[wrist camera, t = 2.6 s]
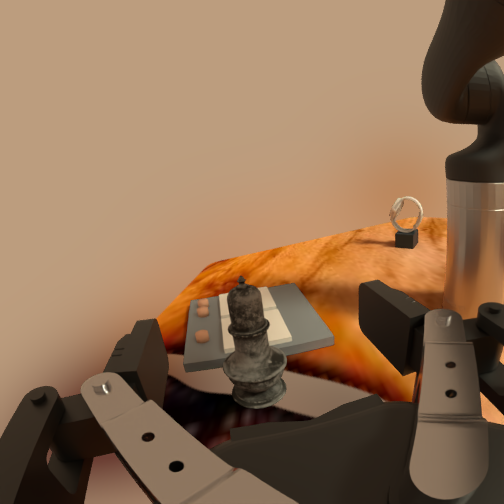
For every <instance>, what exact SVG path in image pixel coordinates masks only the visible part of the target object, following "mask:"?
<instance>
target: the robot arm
mask: <svg viewBox="0 0 504 504" xmlns="http://www.w3.org/2000/svg"><path fill="white" fill-rule="evenodd" d="M502 56H504V0H446V2H445V6H444V10H443V13H442V17H441V20H440V22H439V25H438V28H437V30H436V33H435V35H434V37H433V40H432V42H431V44H430V47H429V49H428V52H427V55H426V57H425V61H424V65H423V70H422V94H423V99H424V101H425V104H426V106H427V108H428V110H429V111H430V113H431V114H432V115H433V116H434V117H435V118H437V119H439V120H441V121H444V122H448V123H453V124H476V125H478V136H477V139H476V140H475V141H474V142H473V143H472V144H471V145H470V146H468V147H467V148H465V149H463V150H461V151H459V152H456V153H453V154H451V155H449V156H448V157H447V158H446V162H445V170H446V178H447V179H446V185H447V255H446V272H445V284H444V295H443V305H442V308H443V309H435V310H429V309H428V308H426V307H425V306H423V305H422V304H420V303H419V302H417V301H415V300H414V299H412V298H411V297H409V296H408V295H406V294H405V293H403V292H402V291H399V290H395V289H392V288H390V287H389V286H387V285H386V284H384V283H383V282H381V281H380V280H374V281H369V282H365V283H361V284H360V286H359V325H360V328H361V331H362V332H363V334H364V335H365V336H366V337H367V338H368V339H369V340H370V341H371V342H372V343H373V344H374V345H375V346H376V348H377V349H378V350H379V351H380V352H381V353H382V354H383V355H384V356H385V357H386V358H387V359H388V360H389V362H390V363H391V364H392V365H393V366H394V367H395V368H396V369H397V370H398V371H399V372H400V373H401V375H402V376H405V375H408V374H410V373H413V372H416V378H415V385H414V392H413V398H412V402H403V401H392V402H383V401H382V400H381V399H380V397H379V396H378V395H377V394H374V395H371V396H368V397H366V398H362V399H359V400H356V401H353V402H349V403H346V404H343V405H341V406H339V407H338V408H335V409H333V410H331V411H329V412H327V413H325V414H323V415H321V416H319V417H317V418H315V419H312V420H309V421H297V422H268V423H262V424H257V425H251V426H245V427H239V428H232V429H230V434H231V440H228V441H225V442H223V443H221V444H219V445H216V446H215V447H213V448H211V449H207V448H206V447H205V446H204V445H202V444H201V443H200V442H199V441H198V440H196V439H195V438H194V437H193V436H192V435H190V434H189V433H188V432H187V431H186V430H185V429H183V428H182V427H181V426H180V425H179V424H178V423H177V422H175V421H174V420H173V419H172V418H171V417H170V416H169V415H168V414H167V413H166V412H164V411H163V410H162V406H163V400H164V393H165V387H166V381H167V375H168V369H169V363H168V357H167V352H166V349H165V346H164V342H163V339H162V335H161V331H160V328H159V324H158V322H157V320H156V319H148V320H140V321H137V322H136V324H135V326H134V328H133V330H132V332H131V334H126V335H125V336H124V337H123V338H121V339H120V340H119V341H118V342H117V344H116V346H115V348H114V351H113V353H112V355H111V357H110V359H109V361H108V363H107V365H106V367H105V369H104V371H103V373H100V374H97V375H94V376H92V377H90V378H89V379H87V380H86V381H85V382H84V383H83V385H82V387H81V394H78V395H73V396H69V397H64V398H60V396H59V394H58V392H57V390H56V389H55V388H53V387H50V386H43V387H39V388H36V389H34V390H32V391H30V392H29V393H27V394H26V395H25V396H24V398H23V399H22V401H21V403H20V404H19V406H18V408H17V410H16V411H15V413H14V415H13V416H12V418H11V420H10V422H9V424H8V425H7V427H6V429H5V431H4V433H3V435H2V436H1V438H0V504H84V500H85V495H86V490H87V485H88V480H89V476H90V471H91V467H92V462H93V457H96V456H101V455H106V454H110V453H115V454H116V456H117V457H118V458H119V460H120V461H121V463H122V464H123V466H124V467H125V468H126V470H127V471H128V472H129V474H130V475H131V476H132V478H133V479H134V480H135V481H136V483H137V484H138V485H139V487H140V488H141V489H142V490H143V492H144V493H145V494H146V495H147V497H148V498H149V499H150V501H151V502H152V503H153V504H504V425H501V424H497V423H492V422H487V420H486V419H485V418H483V417H482V410H481V398H480V392H481V393H482V394H483V395H484V396H485V397H486V398H487V399H488V400H489V401H490V402H491V403H492V404H493V405H494V406H495V407H496V408H497V409H498V410H499V411H500V412H501V413H502V414H503V415H504V365H503V364H502V363H501V362H500V361H499V360H500V357H501V353H502V350H503V346H504V74H503V72H502V70H501V68H500V66H499V65H498V63H497V62H496V61H495V59H497V58H500V57H502ZM49 448H50V449H51V451H52V455H51V458H50V461H49V463H48V465H47V461H46V457H47V452H48V450H49Z"/></svg>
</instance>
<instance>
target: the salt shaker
mask: <svg viewBox="0 0 504 504" xmlns="http://www.w3.org/2000/svg"><path fill="white" fill-rule="evenodd" d="M245 281H246V279H244V278H243V277H242V276H240V277H239V279H238V280H237V282H239V285H237V286H236V287H234V288H233V289H232V290H230V292H229V293H228V295H227V304H228V310H229V315H230V320H231V324H230V325H229V326H228V332H229V334H231V335H232V336H233V341H234V346H235V351H234V352H232V353H231V354H230V355H229V356H227V357H226V359H225V361H224V362H223V370H224V373H225V374H226V375H227V376H228V377H229V379H230V380H231V381H232V383H233V384H234V387H233V391H232V396H233V398H234V400H235V401H236V402H237V403H238V404H240V405H241V406H244V407H247V408H255V409H257V408H265V407H268V406H271V405H273V404H275V403H277V402H278V401H279V400H281V399H282V398H283V396H284V395H285V393H286V384H285V382H284V380H282V379H281V376H282V374H283V371H284V368H285V366H286V363H287V359H286V355H285V354H284V352H283V351H281V350H280V349H279V348H276V347H274V346H270V345H269V342H268V335H267V330H268V329H269V326H270V323H269V321H268V320H267V319H265V318H264V311H263V304H262V296H261V292H260V290H259V289H258V288H257V287H255V286H252V285H248V284H245V283H244V282H245Z"/></svg>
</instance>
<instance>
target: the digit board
mask: <svg viewBox="0 0 504 504" xmlns="http://www.w3.org/2000/svg"><path fill="white" fill-rule="evenodd" d="M258 289H259V290H260V292H261V296H262V304H263V311H264V318H265V319H267V320H268V321H269V323H270V326H269V329H268V330H267V335H268V342H269V345H270V346H274V347H276V348H279V349H280V350H281V351H283V352H284V354H285V355H286V356H287V355H292V354H297V353H301V352H306V351H310V350H314V349H319V348H323V347H327V346H331V345H334V335H333V334H332V333H331V331H330V330H329V329H328V327H327V326H326V325H325V323H324V322H323V321H322V319H321V318H320V316H319V315H318V314H317V312H316V311H315V310H314V308H313V307H312V306H311V304H310V303H309V302H308V300H307V299H306V298H305V296H304V295H303V294H302V292H301V291H300V290H299V288H298V287H297V286H296V285H295V283H291V284H285V285H280V286H274V287H269V288H267V287H261V288H258ZM227 295H228V293H226V294H220V295H219V296H216V297H210V298H203V299H197V300H191V303H190V310H189V318H188V326H187V335H186V343H185V352H184V362H183V365H184V368H185V371H186V372H193V371H201V370H208V369H215V368H220V367H223V362H224V361H225V359H226V357H227V356H229V355H230V354H231V353H232V352H234V351H235V346H234V341H233V336H232V335H231V334H229V332H228V326H229V325H230V324H231V320H230V315H229V310H228V304H227Z"/></svg>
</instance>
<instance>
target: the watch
mask: <svg viewBox="0 0 504 504" xmlns="http://www.w3.org/2000/svg"><path fill="white" fill-rule="evenodd" d="M405 199H409V200H411V201H413V202H414V203H416V204H417V206H418V207H419V209H420V212H419V216H418V219H417V222H416V224H415V225H414V226H413V228H412V229H403V228H402V227H400V226H399V225H398V224H397V222H395V221H396V220H395V219H396V217H397V215H398V214H399V212H400V211H401V209H402V207H403V204H404V200H405ZM389 216H391V218H390V220H391V223H392V225H393V226H394V227H395V228H396V229H397V230H398V232H397V233H396V234H395V247H398V248H410V249H413V248H414V247H415V246H416V245H417V243H418V229H417V227H418V226H419V224H420V223H421V220H422V217H423V209H422V206H421V204H420V203H419V202H418V201H417V200H416V199H415V198H413V197H403V198H398V199H397V200H396V202H395V203H394V205H393V207H392V209H391V211H390V214H389Z"/></svg>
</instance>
